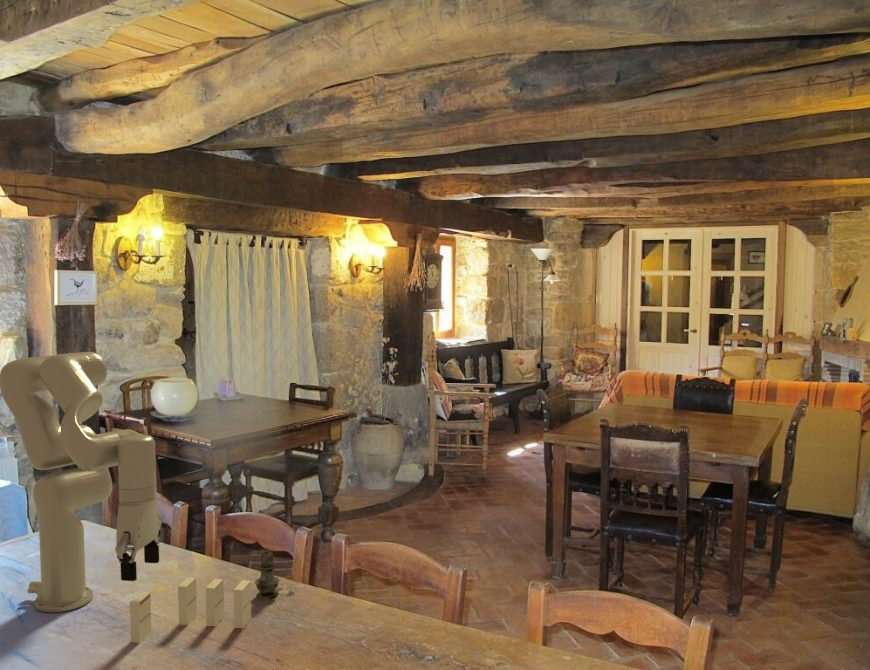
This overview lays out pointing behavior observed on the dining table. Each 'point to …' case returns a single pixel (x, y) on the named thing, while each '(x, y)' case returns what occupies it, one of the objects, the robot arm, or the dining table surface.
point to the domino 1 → (140, 617)
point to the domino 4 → (242, 604)
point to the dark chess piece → (267, 578)
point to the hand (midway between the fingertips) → (140, 571)
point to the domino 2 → (187, 600)
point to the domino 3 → (214, 602)
